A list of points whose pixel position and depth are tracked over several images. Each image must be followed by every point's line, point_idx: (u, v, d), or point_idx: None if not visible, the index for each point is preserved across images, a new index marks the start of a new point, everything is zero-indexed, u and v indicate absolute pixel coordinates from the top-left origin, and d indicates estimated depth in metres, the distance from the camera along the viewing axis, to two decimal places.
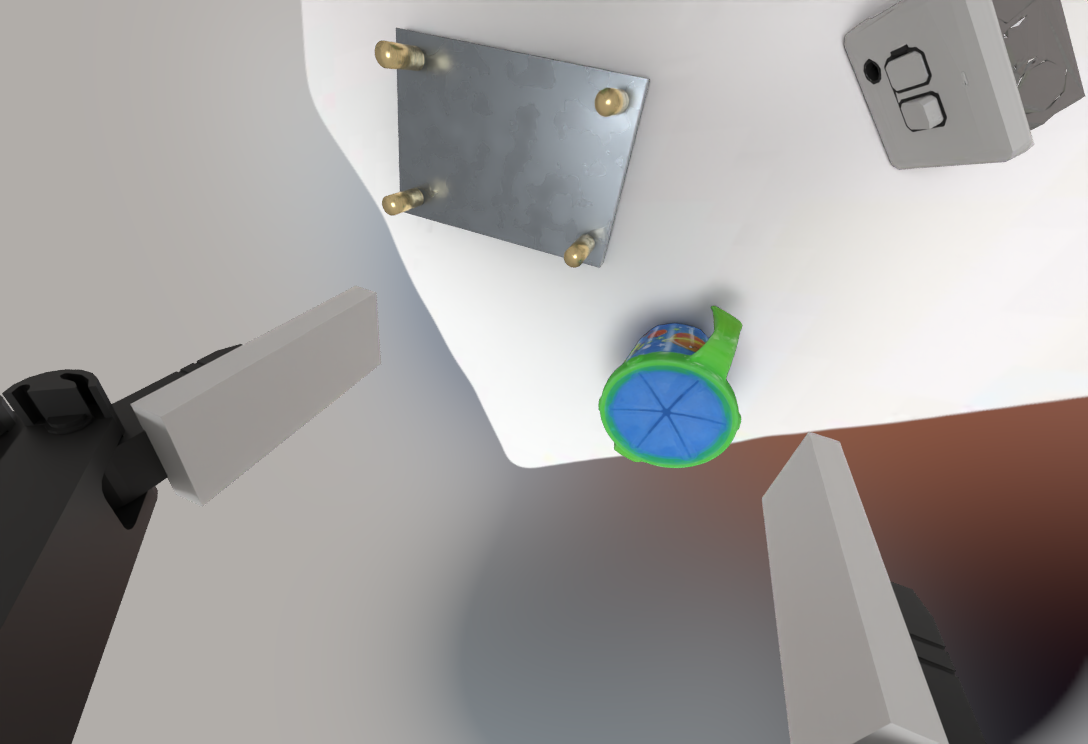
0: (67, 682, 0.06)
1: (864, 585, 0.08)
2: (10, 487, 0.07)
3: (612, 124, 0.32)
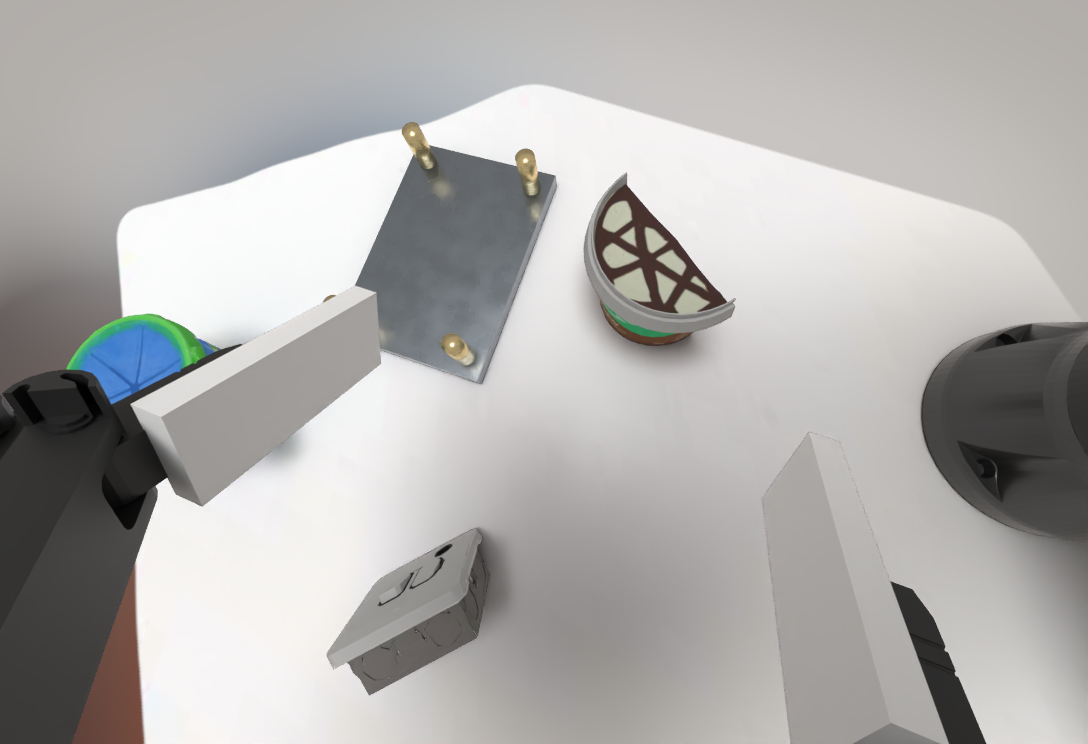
0: (67, 682, 0.06)
1: (864, 585, 0.08)
2: (10, 488, 0.07)
3: None
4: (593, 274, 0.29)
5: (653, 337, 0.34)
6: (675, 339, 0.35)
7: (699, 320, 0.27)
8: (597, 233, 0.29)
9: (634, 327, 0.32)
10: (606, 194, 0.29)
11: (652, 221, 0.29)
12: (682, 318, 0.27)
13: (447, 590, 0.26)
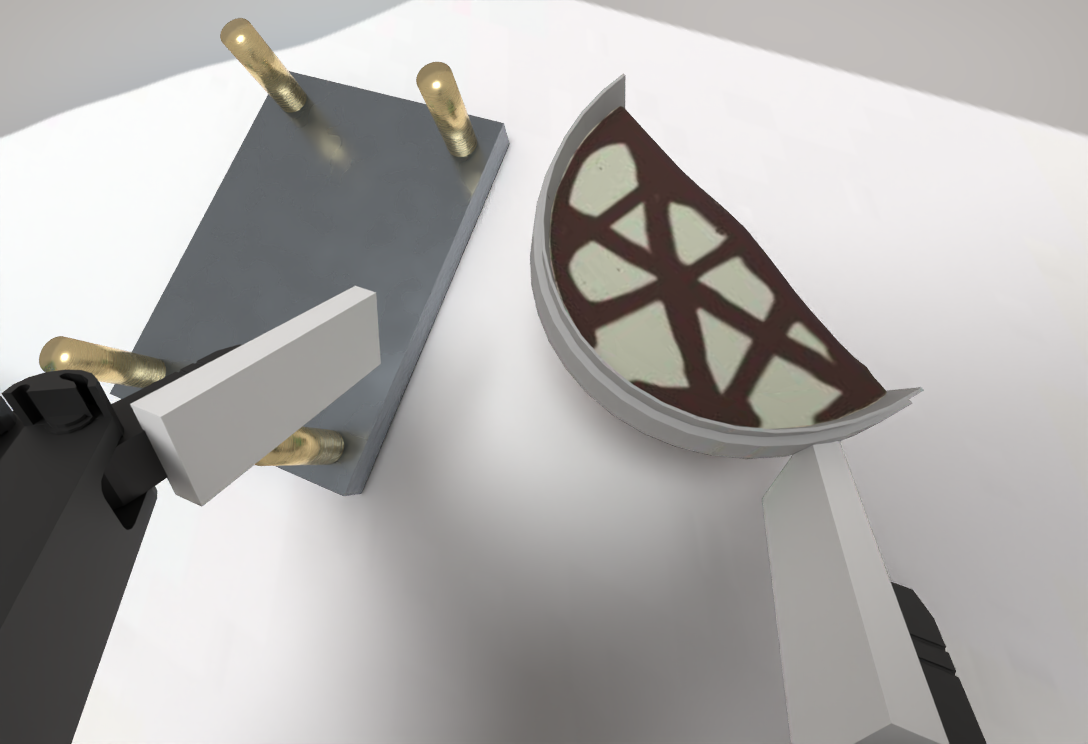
0: (67, 682, 0.06)
1: (864, 585, 0.08)
2: (11, 487, 0.07)
3: None
4: (547, 316, 0.12)
5: None
6: None
7: (817, 441, 0.10)
8: (557, 219, 0.13)
9: None
10: (576, 126, 0.12)
11: (686, 189, 0.12)
12: (772, 436, 0.10)
13: None
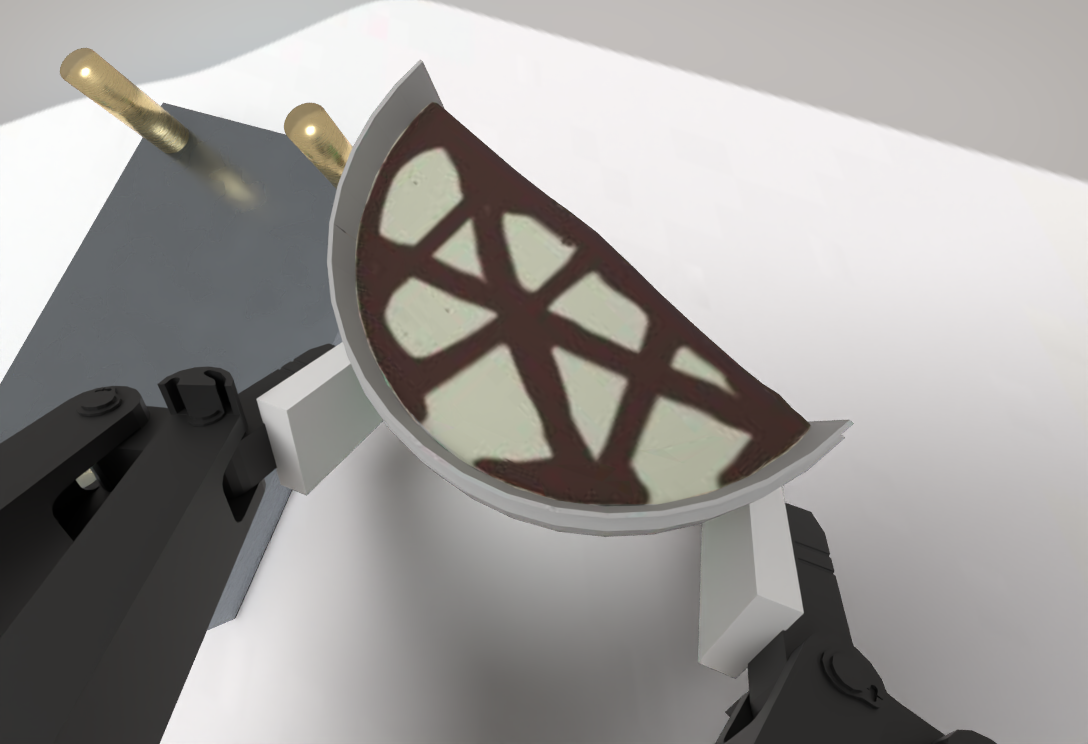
0: (169, 671, 0.07)
1: (760, 501, 0.09)
2: (151, 473, 0.07)
3: None
4: None
5: None
6: None
7: (728, 510, 0.08)
8: (364, 255, 0.10)
9: None
10: (368, 133, 0.09)
11: (522, 193, 0.09)
12: None
13: None
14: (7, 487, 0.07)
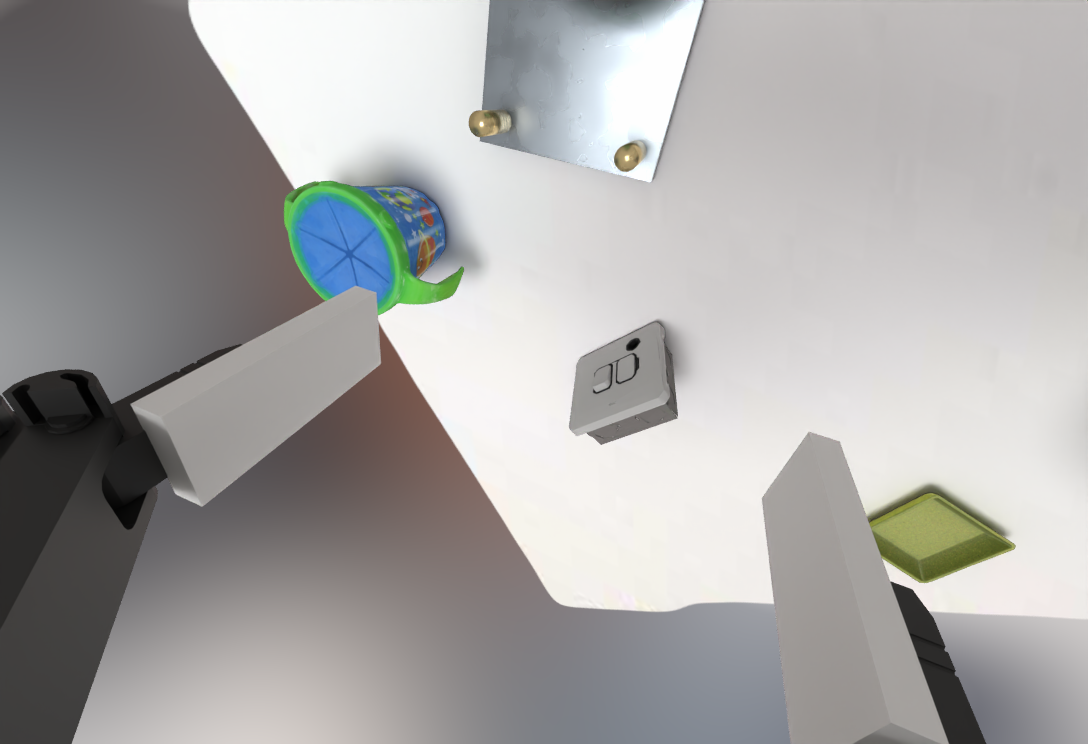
0: (67, 682, 0.06)
1: (864, 585, 0.08)
2: (11, 486, 0.07)
3: (615, 147, 0.32)
4: None
5: None
6: None
7: None
8: None
9: None
10: None
11: None
12: None
13: (654, 395, 0.33)
14: None
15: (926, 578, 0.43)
